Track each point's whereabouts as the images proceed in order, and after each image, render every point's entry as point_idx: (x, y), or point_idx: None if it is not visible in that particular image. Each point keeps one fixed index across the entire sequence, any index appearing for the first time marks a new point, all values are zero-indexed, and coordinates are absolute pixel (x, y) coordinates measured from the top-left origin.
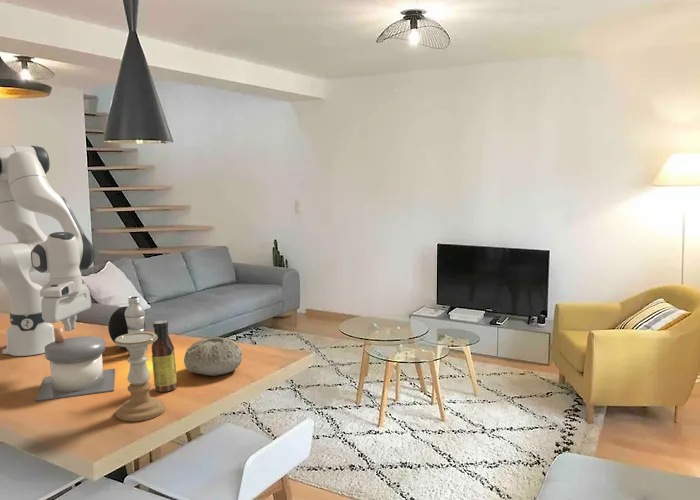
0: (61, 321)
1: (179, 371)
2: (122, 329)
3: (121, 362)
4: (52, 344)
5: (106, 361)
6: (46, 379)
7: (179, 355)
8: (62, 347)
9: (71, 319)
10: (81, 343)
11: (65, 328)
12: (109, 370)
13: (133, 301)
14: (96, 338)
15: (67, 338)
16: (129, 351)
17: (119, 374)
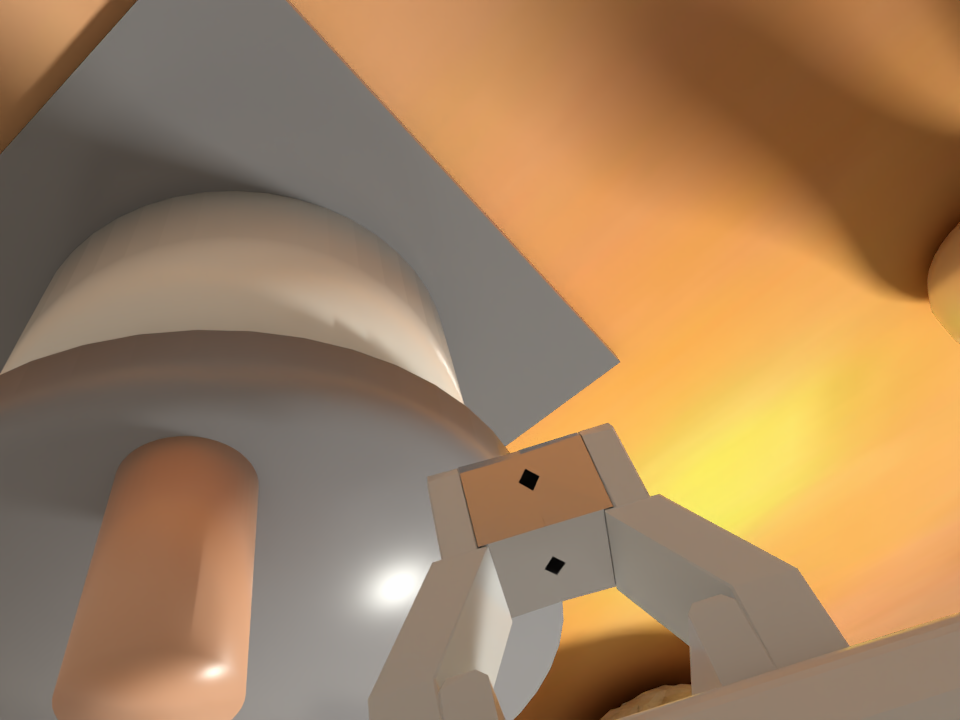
0: (374, 686)
1: (647, 633)
2: None
3: (785, 273)
4: (17, 524)
5: (811, 134)
6: (163, 19)
7: (918, 483)
8: (31, 697)
9: (688, 598)
10: (278, 712)
11: (438, 520)
12: (570, 360)
13: None
14: (501, 680)
15: (381, 448)
16: (956, 256)
17: (534, 444)
